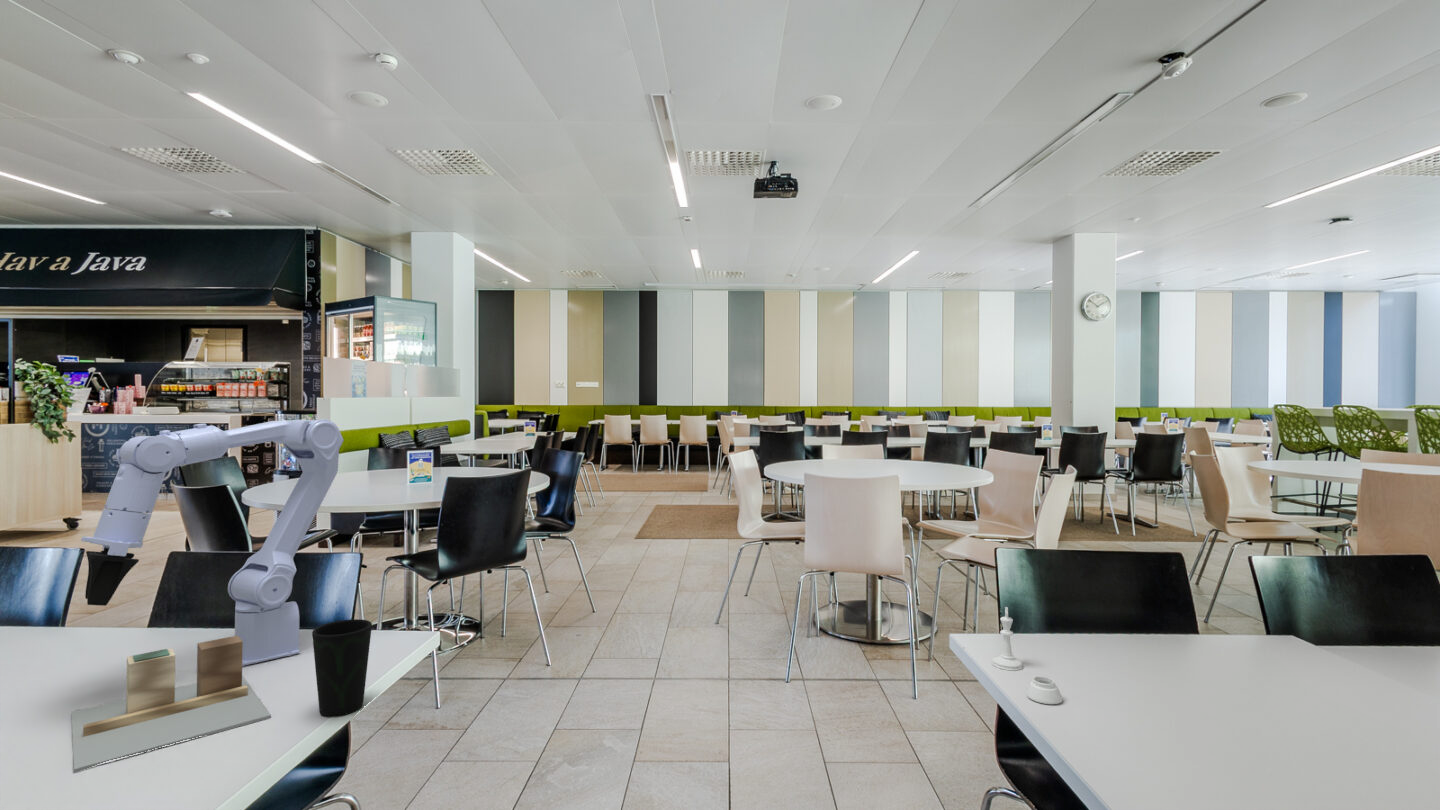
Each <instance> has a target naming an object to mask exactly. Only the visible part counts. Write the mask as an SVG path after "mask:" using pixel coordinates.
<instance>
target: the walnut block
mask: <svg viewBox="0 0 1440 810" xmlns="http://www.w3.org/2000/svg"><path fill="white" fill-rule="evenodd" d="M196 645H197V647H196V648H197V649H196V650H197V652H196V653H197V654H196V656H197V657H196V661H197V662H196V664H197V665H196V683H197V697H200V696H204V695H208V694H212V693H216V692H221V691H225V690H229V689H233V688H237V687H241V686H242V675H243V666H242V645H243V641H242V640H241V639H240V638H239V637H238V635H237V636H235V635H234V636H233V635H231V636H227V637H223V638H218V639H211V640H208V641H203V642H197V644H196Z"/></svg>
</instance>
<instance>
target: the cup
mask: <svg viewBox="0 0 1440 810" xmlns="http://www.w3.org/2000/svg"><path fill="white" fill-rule="evenodd" d="M372 626H373V623H372V622H371V621H370V620H367V619H360V618H359V619H356V618H355V619H354V618H353V619H344V620H337V621H333V622H328V623H324V624H322V625H319V626H317V627H315V628H314V629H313V630H312V631H311V635H312V646H313V656H314V665H315V666H314V667H315V679H316V689H317V690H316V691H317V698H318V699H317V701H318V709H319V715H320V716H321V717H326V718H339V717H344V716H348V715H351V714H353V713H355V712H357V711H359V710H361V709H362V708H363V706H364V699H365V692H366V691H365V689H366V682H367V672H368V665H369V664H368V663H369V654H370V645H371V644H370V643H371V637H372V635H371V634H372Z"/></svg>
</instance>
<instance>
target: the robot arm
mask: <svg viewBox="0 0 1440 810" xmlns="http://www.w3.org/2000/svg"><path fill="white" fill-rule="evenodd" d="M158 433H159V434H157V435H152V436H151V435H139V436H133V437H131V438H129V439H128V440H127V441H125V442H124V443H123V444H122V445H121V446H120V448H117V450H116V453H115V455H116V456H115V457H116V458H115V459H116V461H117V463H118V464H119V468H118V470H117V473H116V476H115V478H114V479H113V483H112V485H111V488H110V490H109V493H108V496H107V499H106V501H105V504H104V507H103V509H102V512H101V516H100V518H99V520H98V523H97V526H96V529H95V531H94V533H93V536H82V537H81V539H80V541H81V542H84V543H85V542H86V543H90V544H94V545H100V546H102V550H100V551H92V550H86V551H85V553H86V557H87V565H88V571H87V572H88V573H87V580H86V586H85V594H84V595H85V600H86V602H87V603H86V604H87V605H88V606H105V607H106V606H107V605H108V604H109V602H111V599H112V598H113V596H114V594H115V592H116V591H117V590H118V588H119V586H120V584H121V582H122V581H123V579H124V578H125V577H126V575H128V573H129V572H130V571H131V569H132V568H134V567H135V566H136V565H137V564H138V563H139V561H140V560H139V559H138V558H134V557H135V553H133V552H128V551H129V549H138V548H140V549H141V548H143V545H144V542H143V540H144V539H145V536H146V533H147V532H146V531H147V529H148V526H149V523H150V521H151V518H152V515H153V512H154V508H155V505H156V503H157V500H158V497H159V494H160V492H161V489H162V486H163V483H164V479H165V477H166V475H167V473H168V472H169V471H171V470H173V469H174V468H175V467H177V468H178V467H181V466H186V465H191V464H197V463H201V462H207V461H210V460H216V459H220V458H222V457H223V456H224V455H225V454H226V452H228V450H229V449H233V448H240V447H245V446H252V445H257V444H263V443H269V442H272V443H275V444H279V445H280V444H281V445H283V447H284V448H285V449H286V450H287V451H288V452H289V454H290V455H292V456H293V458H295V460H296V461H297V462H298V464H299V467H300V469H301V471H302V472H301V475H300V476H299V478H298V480H297V482H296V484H295V485H294V488H293V489H292V492H291V493H290V495H289V497H288V499H287V500H286V502H285V504H284V506H283V507H282V509H281V510H280V511H281V512H280V513H279V515H278V517H277V519H275V523H274V524H273V526H272V527H271V529H270V532H269V533H268V536H267V537H266V539H265V541H264V542H263V545H262V546H261V549H259V550H258V551H257V552H255V553H253V554H252V555H251V556H249V557H248V558H247V559H246V561H245V563H244V565H243V566H241V568H240V569H238V570H237V571H236V572H235V573H234V574H233V575H232V576H231V577H230V579H229V582H228V583H227V584H228V585H227V593H228V595H229V597H230V598H231V599H232V600H233V601H234V602H235V607H234V610H235V612H234V636H237V635H238V637H239V638H240V639H241V640H242V641H243V645H242V667H245V666H249V665H253V664H257V663H261V662H267V661H270V660H275V659H280V658H285V657H289V656H294V655H297V654H300V652H301V650H300V609H299V605H298V604H297V602H296V601H288V602H286V601H287V600H288V598H289V597H290V596H291V594H292V590H293V581H294V577H295V575H296V573H297V568H296V567H297V566H296V564H295V562H294V558H295V555H296V554H297V552H298V549H299V547H300V546H301V544H302V542H303V540H304V537H305V536H306V534H307V532H308V530H309V528H310V526H311V524H312V522H313V521H314V518H315V516H316V515H317V513H318V511H319V508H320V506H321V505H322V503H323V501H324V499H325V497H326V496H327V493H328V492H329V490H330V488H331V486H332V484H333V482H334V480H335V478H336V476H337V474H338V471H339V459H340V458H339V457H340V456H339V455H340V453H339V452H340V448H341V447H342V444H343V442H344V438H343V436H342V433H341V431H340V429H339V427H338V426H337V424H336V423H335V422H334V421H332V420H329V419H316V420H314V419H313V420H312V419H297V418H296V419H292V420H289V419H288V420H285V419H283V420H271V421H266V422H262V423H261V422H260V423H256V424H252V425H247V426H242V427H236V428H232V429H227V430H222V429H221V428H219V427H217V426H215V425H207V423H197V424H193V428H189V429H182V430H176V431H171V430H170V429H169V430H168V429H165V430H160V431H159V432H158Z"/></svg>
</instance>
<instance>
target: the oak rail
mask: <svg viewBox="0 0 1440 810" xmlns="http://www.w3.org/2000/svg"><path fill="white" fill-rule="evenodd" d="M247 695H248V687H247V686H246V685H245V686H241V687H237V688H233V689H229V690H225V691H221V692H216V693H212V694H208V695H204V696H200V697H196V698H192V699H188V700H184V701H179V702H175V703H171V704H167V705H163V706H159V707H155V708H151V709H146V710H142V711H138V712H134V713H130V714H126V715H122V716H118V717H114V718H109V719H105V720H101V721H97V722H93V723H89V724H85V725H83V737H85V736H89V735H93V734H97V733H101V732H105V731H109V730H113V729H117V728H120V727H124V726H128V725H132V724H136V723H140V722H144V721H148V720H152V719H156V718H160V717H164V716H168V715H172V714H176V713H180V712H184V711H188V710H192V709H196V708H200V707H204V706H208V705H212V704H215V703H219V702H223V701H227V700H231V699H235V698H239V697H243V696H247Z"/></svg>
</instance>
